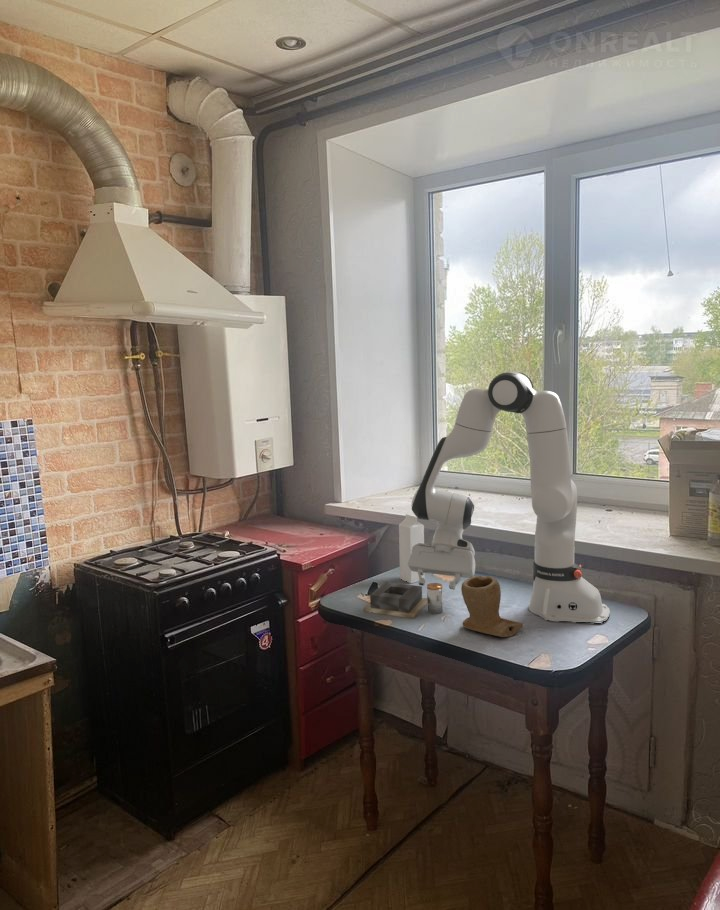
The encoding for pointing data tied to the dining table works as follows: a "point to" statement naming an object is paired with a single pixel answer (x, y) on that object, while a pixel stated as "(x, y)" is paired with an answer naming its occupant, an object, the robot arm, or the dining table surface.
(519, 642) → the dining table surface
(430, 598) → the glass jar
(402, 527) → the milk
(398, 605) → the socket board
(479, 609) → the tan boot-shaped piece
